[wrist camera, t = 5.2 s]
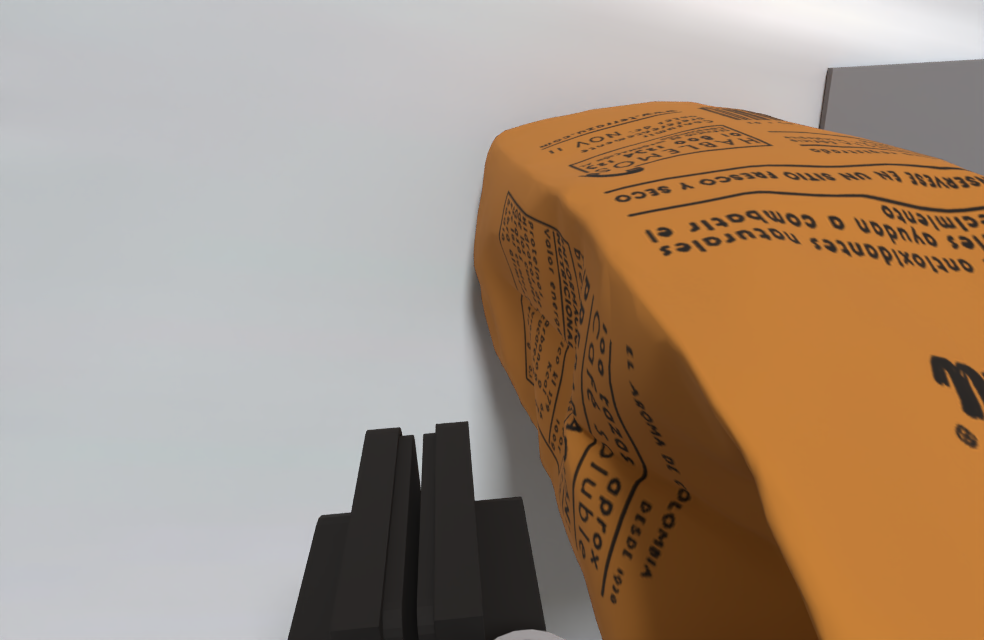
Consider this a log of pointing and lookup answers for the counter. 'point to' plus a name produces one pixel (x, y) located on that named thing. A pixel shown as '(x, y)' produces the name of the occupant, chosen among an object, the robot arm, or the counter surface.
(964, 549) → the coffee package
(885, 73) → the mat
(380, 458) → the robot arm
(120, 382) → the counter surface
